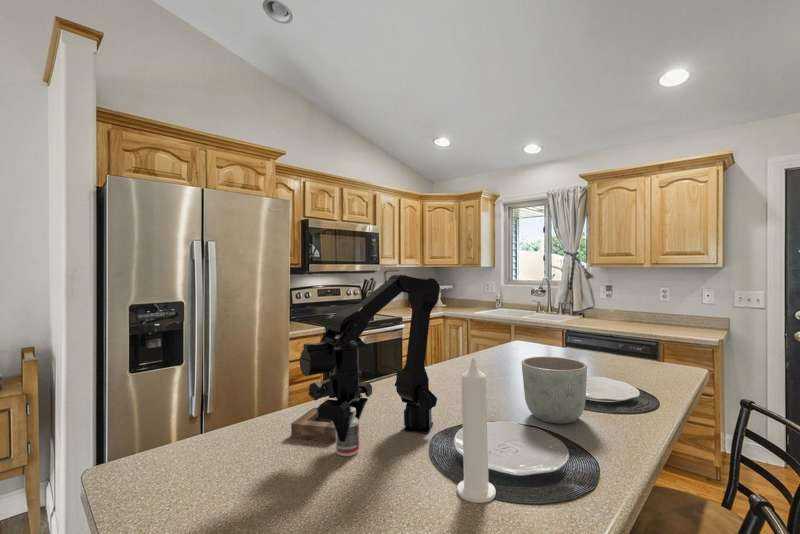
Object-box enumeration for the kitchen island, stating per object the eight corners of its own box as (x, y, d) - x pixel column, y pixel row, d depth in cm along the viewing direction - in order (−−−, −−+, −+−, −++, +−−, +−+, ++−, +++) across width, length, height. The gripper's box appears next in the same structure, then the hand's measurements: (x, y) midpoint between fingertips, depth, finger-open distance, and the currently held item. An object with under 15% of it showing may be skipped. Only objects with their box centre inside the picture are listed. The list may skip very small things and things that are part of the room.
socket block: (353, 423, 108) (353, 410, 108) (335, 442, 96) (334, 427, 96) (314, 419, 111) (313, 407, 111) (291, 437, 99) (291, 423, 99)
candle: (453, 483, 77) (450, 354, 77) (488, 481, 77) (486, 353, 77) (462, 504, 70) (459, 362, 70) (501, 502, 70) (498, 361, 70)
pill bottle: (363, 452, 90) (362, 409, 90) (342, 459, 87) (341, 415, 87) (352, 444, 95) (352, 403, 95) (332, 450, 92) (331, 408, 92)
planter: (511, 419, 109) (510, 364, 109) (537, 403, 121) (536, 353, 121) (575, 436, 97) (574, 374, 97) (597, 416, 109) (595, 361, 110)
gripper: (331, 358, 102) (332, 418, 102) (294, 377, 84) (295, 450, 84) (372, 360, 99) (373, 422, 99) (342, 380, 81) (343, 456, 81)
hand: (347, 436), depth 91 cm, fingers closed on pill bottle, 5 cm apart
